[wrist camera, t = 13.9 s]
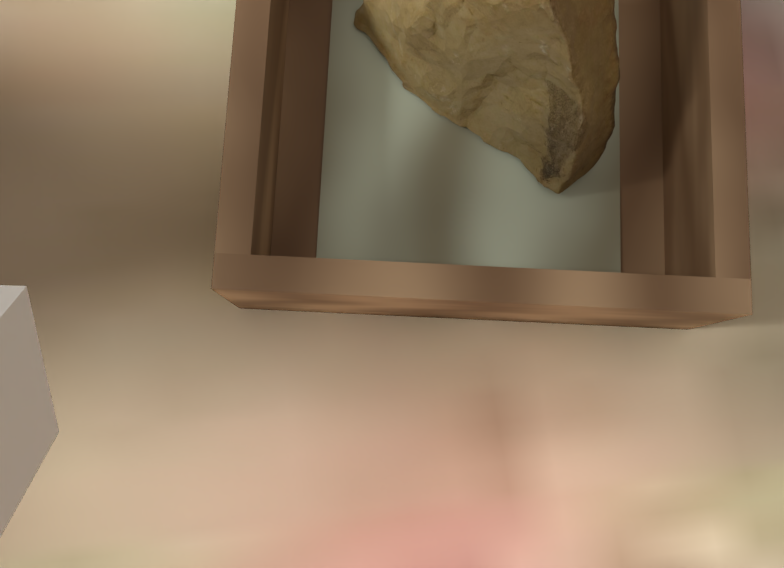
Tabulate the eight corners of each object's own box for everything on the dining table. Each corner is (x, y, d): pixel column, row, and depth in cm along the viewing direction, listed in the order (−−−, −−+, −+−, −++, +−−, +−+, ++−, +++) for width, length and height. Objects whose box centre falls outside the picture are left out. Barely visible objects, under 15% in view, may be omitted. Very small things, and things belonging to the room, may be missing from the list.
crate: (239, 308, 28) (210, 288, 23) (272, -98, 31) (253, -191, 26) (687, 329, 29) (752, 314, 24) (678, -75, 32) (734, -162, 27)
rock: (697, 156, 26) (632, -103, 27) (639, 146, 19) (551, -207, 19) (448, 228, 32) (397, 17, 33) (334, 241, 25) (269, -30, 25)
